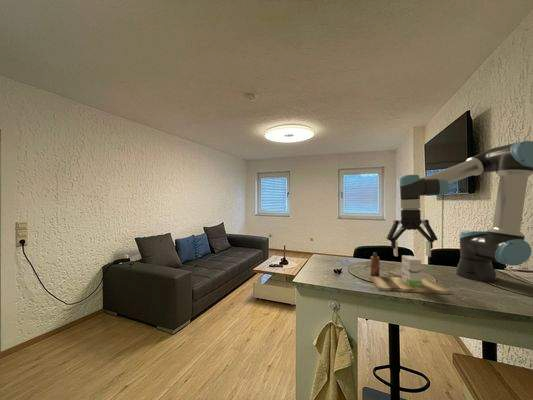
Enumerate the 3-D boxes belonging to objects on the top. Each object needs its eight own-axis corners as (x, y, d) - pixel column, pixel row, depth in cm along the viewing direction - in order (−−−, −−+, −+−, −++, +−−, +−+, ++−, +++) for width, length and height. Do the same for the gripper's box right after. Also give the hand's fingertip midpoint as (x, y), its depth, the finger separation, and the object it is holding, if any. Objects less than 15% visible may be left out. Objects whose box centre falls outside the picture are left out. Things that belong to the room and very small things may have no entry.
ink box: (422, 287, 98) (422, 260, 98) (409, 286, 99) (409, 259, 99) (412, 280, 106) (412, 255, 106) (401, 279, 107) (401, 254, 107)
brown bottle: (377, 275, 117) (377, 252, 117) (380, 277, 114) (380, 254, 113) (369, 274, 118) (369, 251, 118) (372, 277, 114) (372, 253, 114)
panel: (431, 281, 108) (431, 278, 108) (450, 293, 94) (450, 290, 94) (369, 278, 112) (369, 275, 112) (378, 290, 98) (378, 287, 98)
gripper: (435, 208, 104) (437, 254, 104) (378, 209, 108) (379, 253, 108) (446, 208, 97) (447, 258, 97) (383, 210, 101) (385, 257, 101)
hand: (411, 255), depth 103 cm, fingers open, 13 cm apart
